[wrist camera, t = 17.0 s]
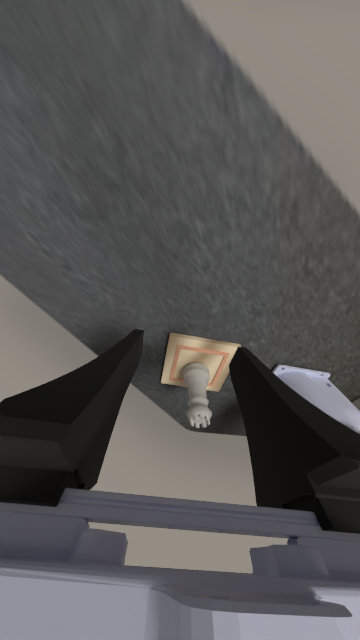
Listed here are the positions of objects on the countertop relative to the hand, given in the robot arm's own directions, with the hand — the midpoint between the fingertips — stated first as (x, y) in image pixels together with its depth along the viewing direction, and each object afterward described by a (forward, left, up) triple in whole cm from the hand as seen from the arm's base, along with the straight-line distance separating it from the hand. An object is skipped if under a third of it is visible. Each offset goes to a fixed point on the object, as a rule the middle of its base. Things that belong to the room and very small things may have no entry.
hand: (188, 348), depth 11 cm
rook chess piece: (-4, +12, -9) cm, 15 cm away
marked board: (-4, +11, -9) cm, 15 cm away
